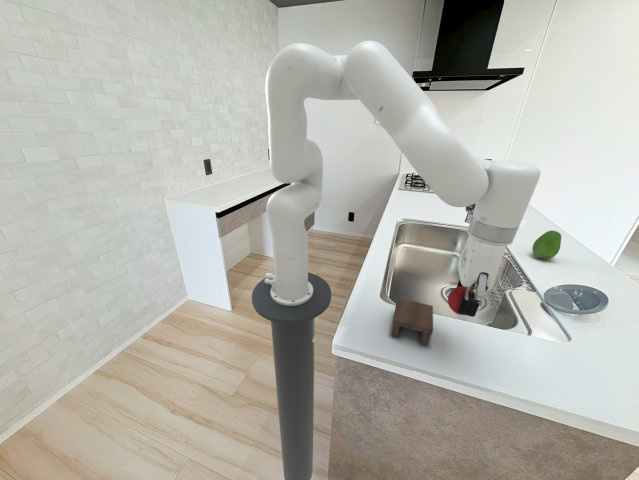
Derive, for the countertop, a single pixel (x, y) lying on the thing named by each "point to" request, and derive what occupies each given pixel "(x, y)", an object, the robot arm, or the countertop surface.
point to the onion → (457, 298)
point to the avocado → (547, 245)
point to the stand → (413, 318)
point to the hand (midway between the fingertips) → (464, 303)
